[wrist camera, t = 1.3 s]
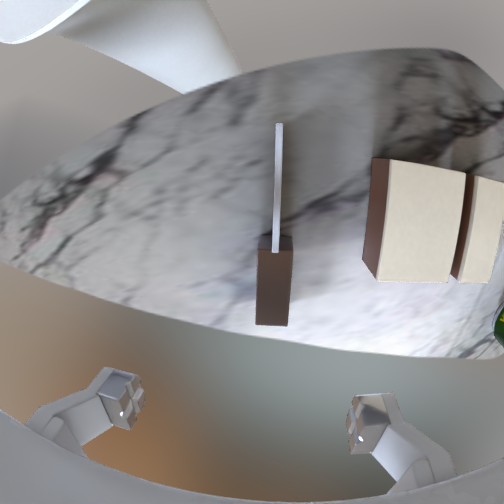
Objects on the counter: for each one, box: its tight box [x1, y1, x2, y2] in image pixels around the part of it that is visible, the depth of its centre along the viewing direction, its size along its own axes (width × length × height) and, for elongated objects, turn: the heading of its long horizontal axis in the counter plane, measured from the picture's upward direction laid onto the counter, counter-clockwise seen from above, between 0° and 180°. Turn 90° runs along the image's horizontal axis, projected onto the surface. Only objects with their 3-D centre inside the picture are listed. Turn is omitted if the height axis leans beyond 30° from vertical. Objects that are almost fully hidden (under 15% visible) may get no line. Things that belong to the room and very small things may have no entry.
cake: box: [362, 158, 466, 283], centre depth 17 cm, size 8×6×4 cm
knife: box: [255, 123, 293, 327], centre depth 19 cm, size 13×2×4 cm, turn 179°
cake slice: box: [450, 174, 504, 283], centre depth 17 cm, size 8×3×4 cm, turn 179°
